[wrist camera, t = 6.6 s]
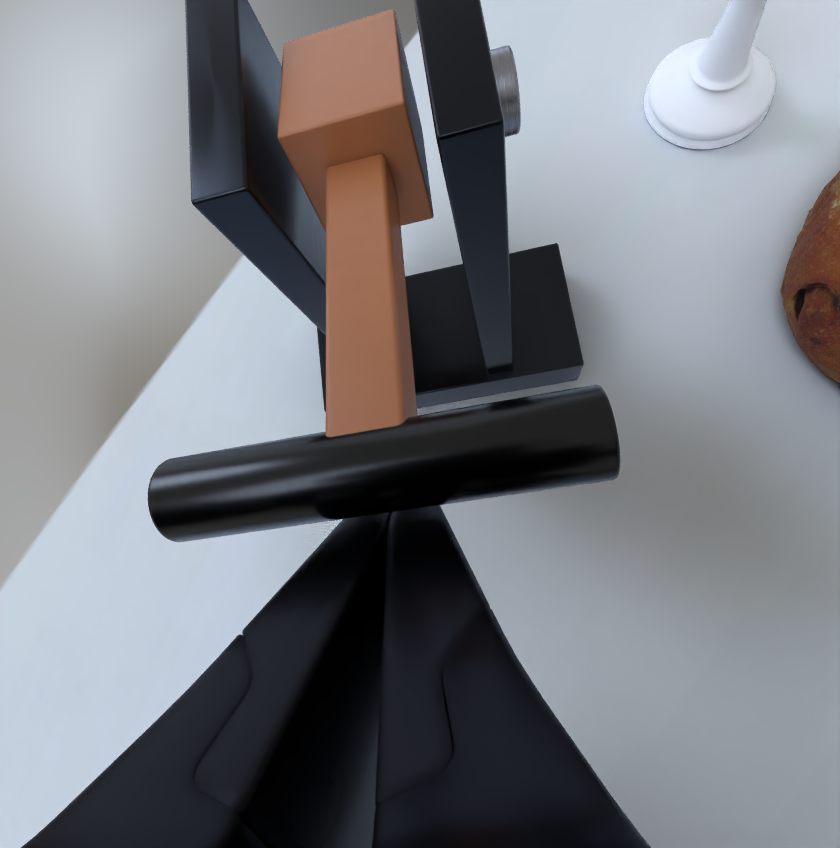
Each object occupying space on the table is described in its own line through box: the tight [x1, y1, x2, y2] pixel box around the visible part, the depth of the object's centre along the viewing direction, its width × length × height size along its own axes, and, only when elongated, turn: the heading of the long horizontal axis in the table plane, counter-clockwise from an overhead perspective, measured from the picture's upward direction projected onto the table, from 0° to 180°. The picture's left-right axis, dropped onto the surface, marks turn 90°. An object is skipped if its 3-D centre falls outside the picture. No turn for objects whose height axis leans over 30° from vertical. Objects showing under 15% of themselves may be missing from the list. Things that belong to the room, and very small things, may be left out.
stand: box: [185, 0, 584, 412], centre depth 15 cm, size 5×10×14 cm, turn 97°
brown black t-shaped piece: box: [148, 9, 620, 542], centre depth 8 cm, size 9×6×2 cm, turn 7°
